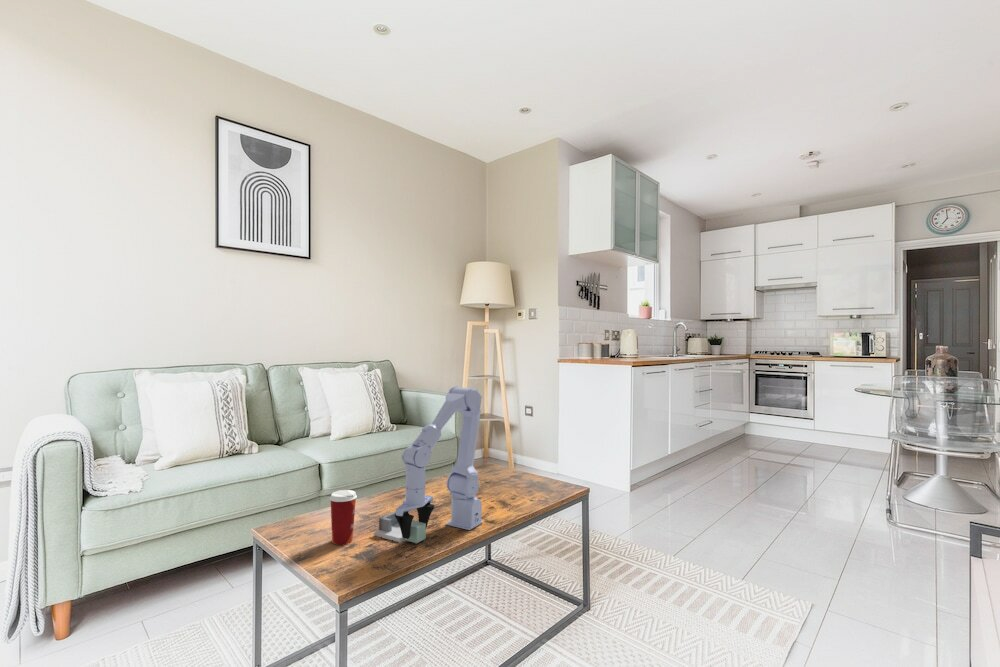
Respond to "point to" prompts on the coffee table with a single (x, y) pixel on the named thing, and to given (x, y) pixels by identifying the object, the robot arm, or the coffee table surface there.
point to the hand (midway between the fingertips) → (414, 533)
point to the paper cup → (342, 516)
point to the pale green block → (417, 532)
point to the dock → (389, 528)
